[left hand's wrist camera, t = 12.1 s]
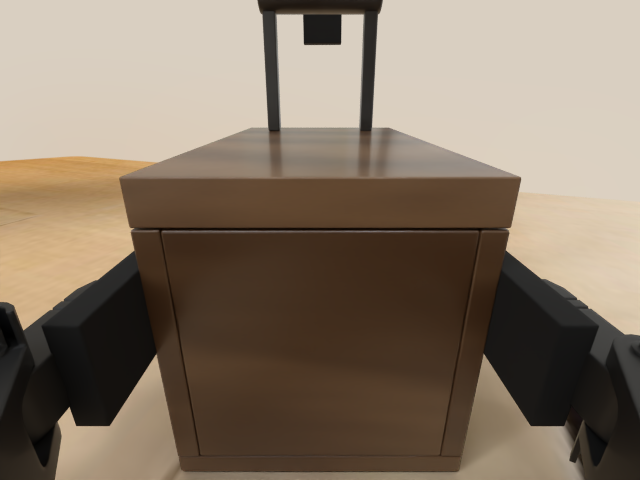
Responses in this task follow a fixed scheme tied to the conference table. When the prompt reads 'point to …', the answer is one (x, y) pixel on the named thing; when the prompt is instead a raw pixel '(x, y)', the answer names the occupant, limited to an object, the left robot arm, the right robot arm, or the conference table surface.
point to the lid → (320, 167)
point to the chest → (320, 343)
